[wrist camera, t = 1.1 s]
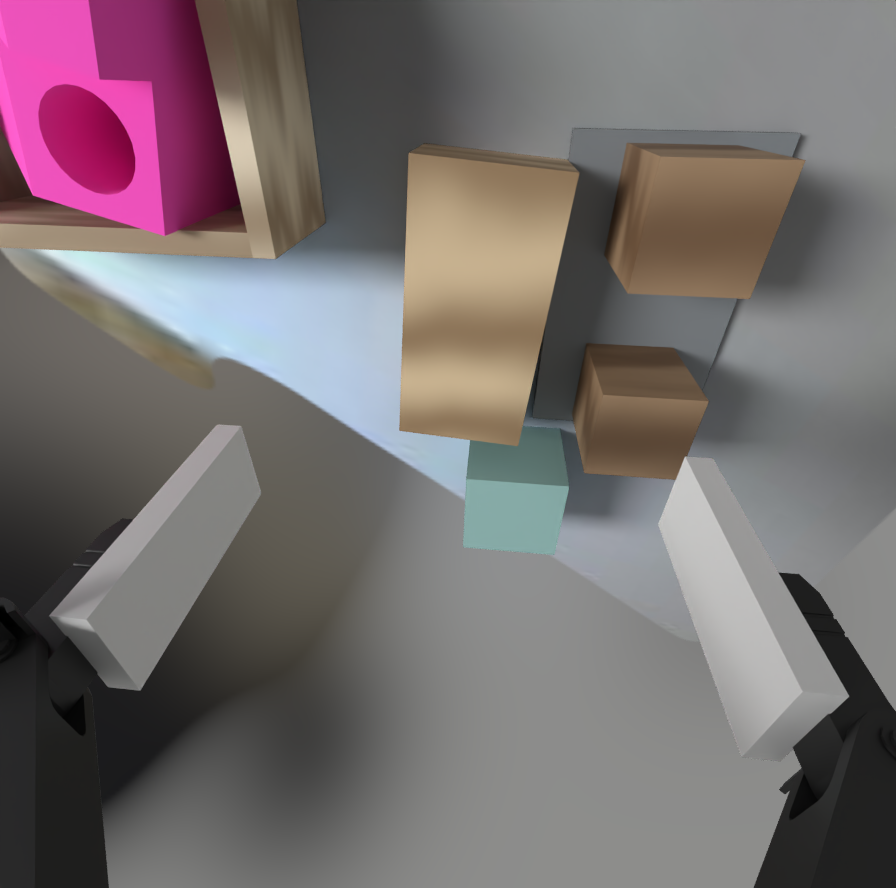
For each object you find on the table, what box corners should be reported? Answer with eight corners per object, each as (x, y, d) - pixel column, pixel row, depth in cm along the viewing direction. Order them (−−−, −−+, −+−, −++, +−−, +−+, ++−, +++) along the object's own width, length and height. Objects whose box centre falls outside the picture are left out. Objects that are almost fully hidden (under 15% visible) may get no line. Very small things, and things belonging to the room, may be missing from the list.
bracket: (252, -70, 19) (61, -193, 11) (248, 201, 25) (123, 253, 17) (-60, -185, 18) (-533, -418, 10) (14, 126, 24) (-238, 144, 16)
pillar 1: (626, 142, 22) (660, 156, 17) (738, 145, 22) (805, 160, 17) (604, 254, 25) (627, 293, 20) (702, 258, 25) (749, 298, 20)
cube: (472, 422, 33) (466, 479, 28) (559, 427, 32) (569, 486, 27) (468, 486, 36) (463, 547, 31) (547, 492, 36) (554, 554, 31)
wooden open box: (-169, -222, 18) (-476, -364, 12) (265, -236, 17) (144, -402, 11) (33, 212, 27) (-91, 243, 21) (325, 222, 26) (275, 258, 20)
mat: (572, 128, 22) (573, 128, 22) (796, 132, 21) (801, 133, 21) (532, 414, 32) (532, 418, 31) (685, 424, 31) (687, 427, 31)
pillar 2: (586, 343, 28) (603, 394, 23) (673, 347, 28) (708, 401, 23) (572, 414, 31) (584, 473, 26) (650, 419, 31) (677, 479, 26)
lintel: (425, 142, 23) (408, 152, 19) (566, 158, 23) (579, 172, 19) (412, 388, 32) (399, 430, 28) (516, 401, 32) (517, 446, 28)
